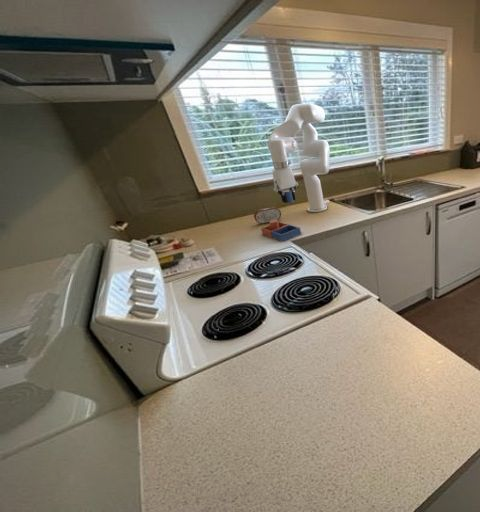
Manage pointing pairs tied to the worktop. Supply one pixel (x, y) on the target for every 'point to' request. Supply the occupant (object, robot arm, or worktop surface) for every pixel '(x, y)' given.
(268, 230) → the terracotta bin
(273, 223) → the reddish round cylinder
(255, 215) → the tin
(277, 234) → the blue bin
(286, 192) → the small blue cylinder
